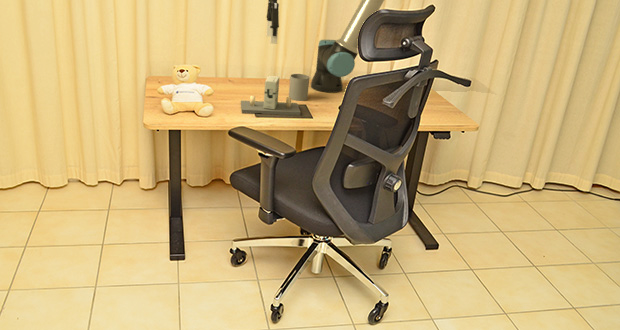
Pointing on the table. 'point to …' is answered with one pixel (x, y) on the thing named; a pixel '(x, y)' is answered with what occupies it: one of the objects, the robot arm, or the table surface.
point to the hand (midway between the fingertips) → (271, 39)
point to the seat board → (280, 109)
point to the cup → (299, 87)
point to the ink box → (271, 92)
